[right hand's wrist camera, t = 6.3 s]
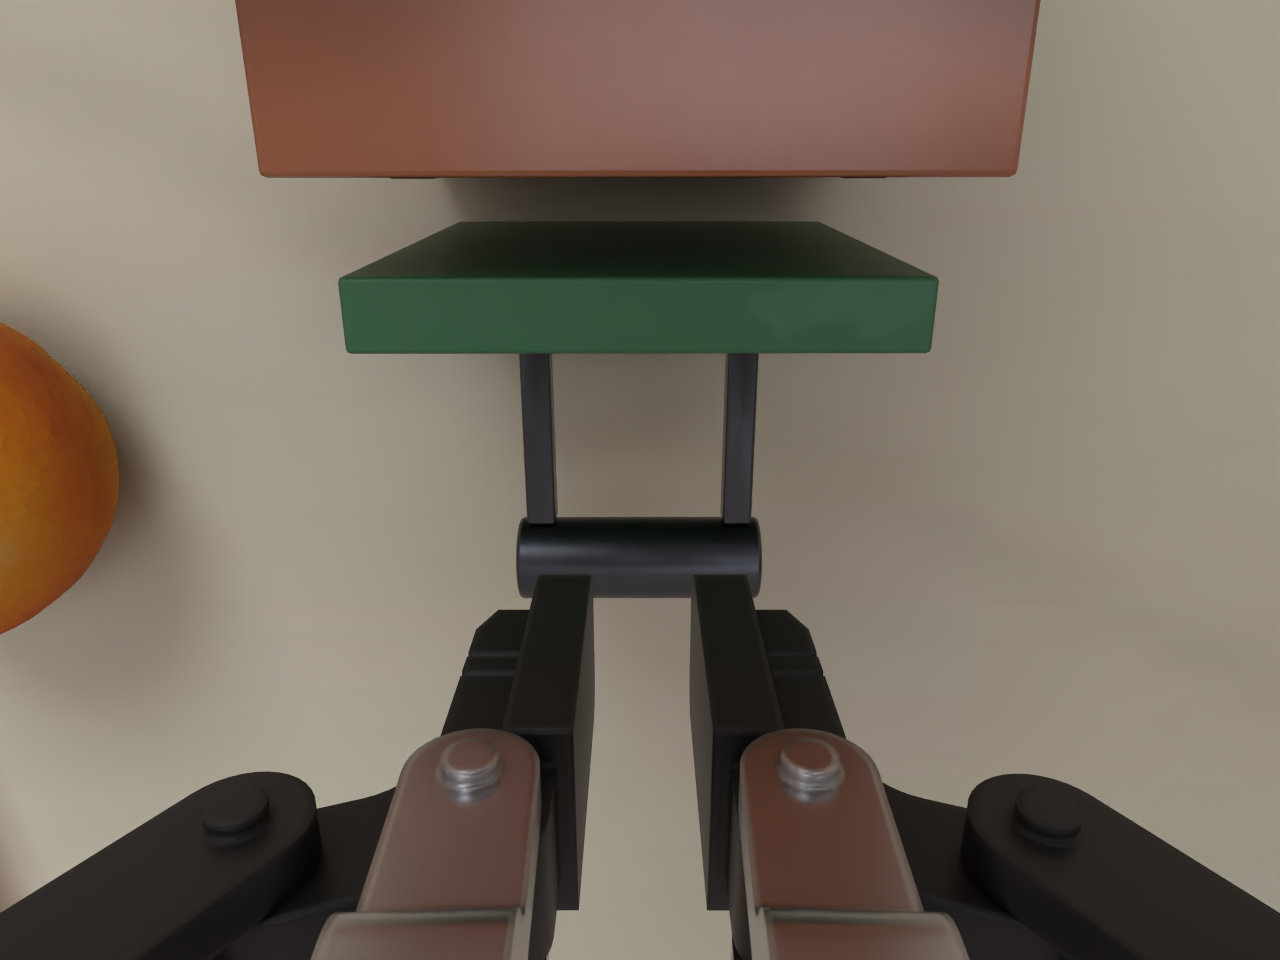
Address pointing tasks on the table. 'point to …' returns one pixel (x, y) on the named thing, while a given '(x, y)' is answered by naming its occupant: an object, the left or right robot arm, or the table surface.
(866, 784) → the right robot arm
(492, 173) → the cabinet
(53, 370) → the fruit
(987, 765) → the table surface
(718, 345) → the drawer
